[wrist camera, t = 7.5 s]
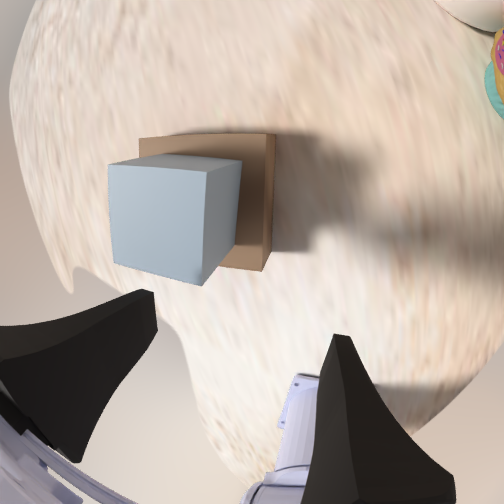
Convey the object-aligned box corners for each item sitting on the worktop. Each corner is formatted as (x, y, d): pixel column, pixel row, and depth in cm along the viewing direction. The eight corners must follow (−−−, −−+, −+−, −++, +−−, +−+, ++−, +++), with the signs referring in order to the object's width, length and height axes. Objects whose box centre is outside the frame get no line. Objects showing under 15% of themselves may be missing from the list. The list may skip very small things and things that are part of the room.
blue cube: (234, 245, 17) (201, 286, 12) (161, 231, 18) (113, 262, 13) (242, 160, 15) (206, 172, 10) (162, 153, 16) (107, 164, 11)
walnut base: (271, 249, 20) (261, 271, 17) (171, 238, 22) (148, 256, 19) (276, 134, 17) (266, 133, 14) (166, 136, 19) (138, 138, 16)
